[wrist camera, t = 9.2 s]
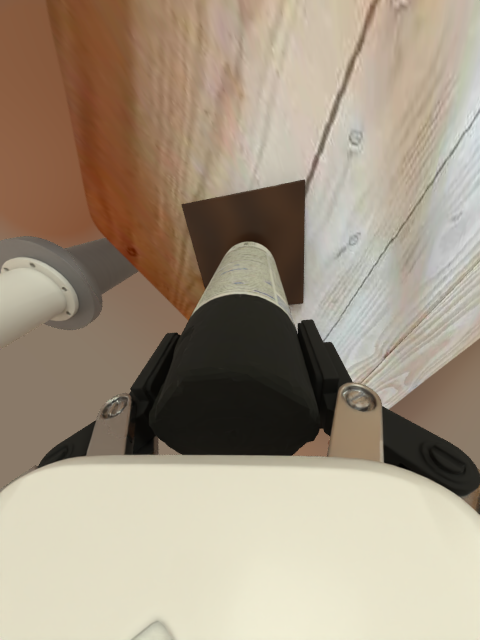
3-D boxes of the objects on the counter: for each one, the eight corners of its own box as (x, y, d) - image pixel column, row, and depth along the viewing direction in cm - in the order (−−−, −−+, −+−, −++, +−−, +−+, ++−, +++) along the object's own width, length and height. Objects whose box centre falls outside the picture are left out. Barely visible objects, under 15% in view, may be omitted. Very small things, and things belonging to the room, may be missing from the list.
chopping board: (213, 308, 34) (212, 313, 32) (185, 204, 25) (181, 204, 24) (301, 299, 31) (303, 303, 30) (302, 180, 23) (304, 179, 22)
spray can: (212, 275, 25) (120, 441, 8) (240, 226, 21) (184, 334, 5) (255, 301, 26) (253, 485, 9) (287, 259, 23) (372, 429, 6)
